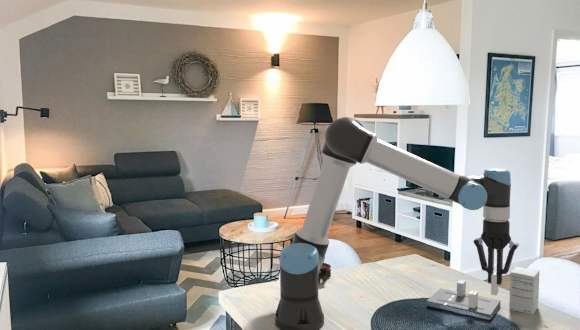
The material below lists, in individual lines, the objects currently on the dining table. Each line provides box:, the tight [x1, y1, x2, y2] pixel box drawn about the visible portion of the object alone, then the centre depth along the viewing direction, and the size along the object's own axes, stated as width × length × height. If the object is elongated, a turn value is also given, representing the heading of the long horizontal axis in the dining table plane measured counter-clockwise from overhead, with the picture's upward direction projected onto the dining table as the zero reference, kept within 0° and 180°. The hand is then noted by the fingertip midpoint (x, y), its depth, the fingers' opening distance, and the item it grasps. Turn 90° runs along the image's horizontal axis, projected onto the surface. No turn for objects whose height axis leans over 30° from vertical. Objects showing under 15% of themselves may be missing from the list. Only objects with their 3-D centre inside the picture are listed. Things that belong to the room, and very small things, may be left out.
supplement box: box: [508, 266, 540, 315], centre depth 157 cm, size 7×7×13 cm
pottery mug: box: [318, 262, 332, 284], centre depth 186 cm, size 12×10×8 cm
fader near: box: [468, 290, 479, 309], centre depth 154 cm, size 4×2×5 cm, turn 145°
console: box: [426, 287, 502, 318], centre depth 160 cm, size 15×20×2 cm
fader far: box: [456, 279, 467, 297], centre depth 164 cm, size 4×2×5 cm, turn 145°
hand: (494, 293), depth 150 cm, fingers closed
